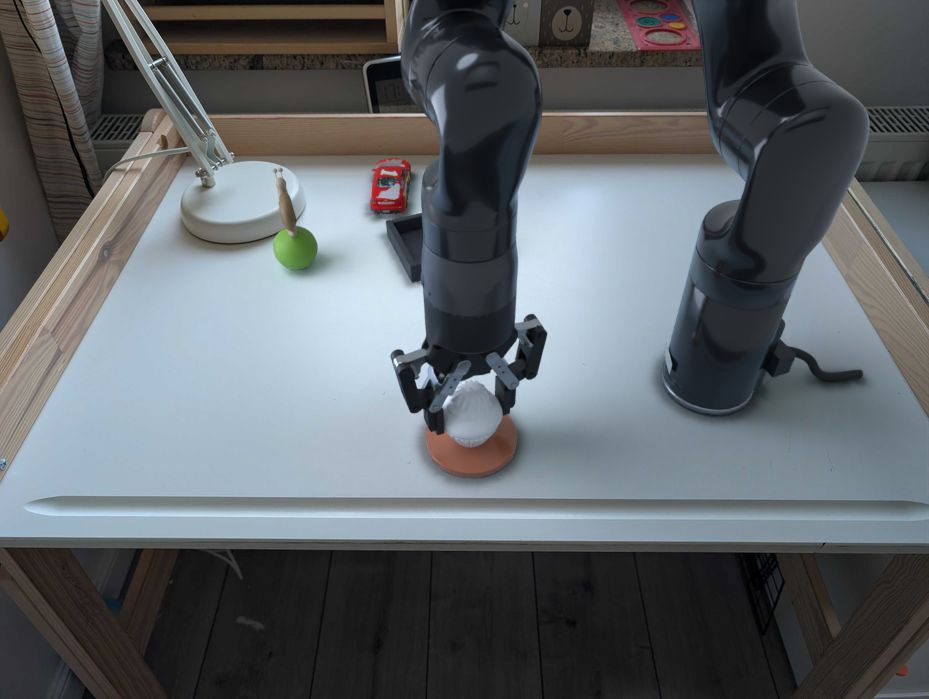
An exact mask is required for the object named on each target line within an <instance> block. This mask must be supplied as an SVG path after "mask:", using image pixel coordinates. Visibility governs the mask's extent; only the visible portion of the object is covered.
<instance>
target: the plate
mask: <svg viewBox="0 0 929 699" xmlns="http://www.w3.org/2000/svg"><path fill="white" fill-rule="evenodd" d="M517 445H518V431H517V429H516V425H515V424H514V422H513V420H512V419H511V418H510V416H509V414H507V415H504V416H502V420H501V422H500V424H499V425H498V428H497V429H496V430H495V432H494V433H493V434H492V435H491V436H490V437H489V438H488V439H487V440H486V441H485V442H484V443H483V444H481V445H479V446H478V447H472V448H470V447H469V448H467V447H465V446H462V445H459V444H458V443H457V442H456V441H455V440H453V439H452V438H451V437H450V436H449V435H448V434H447V432H446V431H445V430H444V434H441V435H438V436H437V435H436V433H435V431H433V432H431V431H430V430H429V429H428V427H427V428H426V432H425V447H426V451H427V454H428V455H429V458H430V459H431V461H432V462H433V463H434V464H435V465H436V466H437V467H438V468H440V469H441V470H442V471H444V472H445V473H447V474H449V475H453V476H456V477H460V478H466V479H467V478H469V479H476V478H484V477H487V476H490V475H493V474H495V473H497V472H498V471H500V470H502V469H503V468H505V467H506V466H507V465H508V464H509V463H510V461H511V460H512V459H513V457H514V455H515V454H516V450H517Z"/></svg>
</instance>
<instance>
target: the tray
mask: <svg viewBox="0 0 929 699" xmlns="http://www.w3.org/2000/svg"><path fill="white" fill-rule="evenodd" d="M385 229H386V237H387V239H388V240H389V242H390V244H391V246H392V249H393V250H394V252H395V254H396V255H397V257H398V259H399V262H400V263H401V266H402V267H403V269H404V271H405V272H406V275H407V276H408V278H409V280H410V282H411V283H417V282H421V272H422V264H421V260H422V248H423V224H422V212H418V213H414V214H410V215H409V214H408V215H405V216H399V217H396V218H392V219H387V220H385Z"/></svg>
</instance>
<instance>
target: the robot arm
mask: <svg viewBox="0 0 929 699" xmlns="http://www.w3.org/2000/svg"><path fill="white" fill-rule="evenodd" d="M515 1H516V0H412V2H411V5H410V7H409V10H408V13H407V17H406V19H405V24H404V28H403V32H402V37H401V46H400V72H401V79H402V83H403V85H404V87H405V90H406V93H407V94H408V96H409V97H410V98H411V100H412V102H414V103H415V105H416V106H417V107H418V109H419V110H421V112H422V113H423V114H424V115H425V116H426V117H427V118H428V120H429V121H430V122H431V124H433V125H434V126H435V129H436V132H437V138H438V144H439V155H437V156H436V157H435V158H434V159H432V160H431V161H430V162H429V164H428V165H427V166H426V168H425V170H424V172H423V174H422V178H421V180H422V181H421V186H420V209H421V213H422V224H423V248H422V260H421V264H422V272H421V280H420V283H421V286H422V295H423V296H422V297H423V307H424V308H423V309H424V310H423V311H424V326H425V337H424V340H423V342H422V344H421V346H420V348H419V349H416V350H413V351H411V352H408V353H405V352H404V350H403V349H402V348H401V349H400V348H397V349H394V350H393V351H392V352H391V353H390V360H391V363H392V366H393V370H394V373H395V376H396V379H397V383H398V386H399V389H400V392H401V394H402V398H403V399H404V401H405V404H406V406H407V408H408V411H409V412H410V414H413V415H414V414H418V413H420V412H421V411H422V410H423V419H424V420H423V421H424V422H425V424H426V427H427V428H428V429H429V430H430V431H431V432H433V431H435V433H436V435H437V436H438V435H441V434H444V410H443V408H442V406H443V404H444V402H445V400H446V399H447V397H448V396H452V395H453V393H454V392H455V390H456V388H457V386H458V384H459V383H461V382H463V381H466V380H467V381H468V380H470V378H473V377H477V376H478V377H479V376H484V375H488V374H491V373H492V372H491V371H493V372H494V373H495V376H494V395H495V396H496V397H497V398H498V400H499V402H500V404H501V407H502V412H503V415H502V416H504V415H510V414H511V409H513V408H514V407H515V405H516V402H517V400H516V399H517V397H516V396H517V388H518V387H519V386H520V382H521V381H523V380H525V379H526V380H527V381H531V380H533V379H535V378H536V377H537V376H538V373H539V369H540V365H541V361H542V359H543V358H542V357H543V353H544V350H545V346H546V343H547V342H546V341H547V338H548V332H547V330H546V329H545V327H544V325H543V324H542V322H541V321H540V319H539V318H538V317H537V316H536V314H534V313H528V314H527V315H526V316H525V317H524V318H523V321H520V322H516V314H517V313H516V312H517V292H518V275H519V251H518V244H517V232H518V231H517V230H518V213H519V212H518V210H519V190H520V187H521V186H522V183H523V180H524V178H525V175H526V172H527V170H528V167H529V164H530V160H531V157H532V155H533V151H534V148H535V144H536V142H537V140H538V135H539V132H540V129H541V124H542V118H543V109H544V96H543V93H544V92H543V85H542V79H541V75H540V72H539V69H538V67H537V64H536V61H535V60H534V58H533V57H532V55H531V54H530V53H529V52H528V50H527V49H526V48H524V46H522V44H520V43H519V42H518V41H516V40H515V39H514V38H512V37H511V36H510V35H509V34H507V33H506V32H505V28H506V23H507V20H508V17H509V15H510V13H511V10H512V9H513V6H514V4H515ZM689 1H690V4H691V7H692V11H693V14H694V18H695V23H696V26H697V32H698V38H699V45H700V54H701V64H702V73H703V74H702V75H703V84H704V85H703V86H704V96H705V109H706V117H707V118H706V119H707V125H708V130H709V135H710V138H711V141H712V143H713V145H714V148H715V149H716V151H717V152H718V154H719V156H720V157H721V158H722V159H723V161H724V162H725V163H726V164H727V165H728V166H729V167H730V168H731V169H732V170H733V171H734V172H735V173H736V174H737V175H738V176H739V177H740V178H741V179H742V180H743V181H744V182H745V184H744V186H743V191H742V192H741V197H740V199H733V200H727V201H724V202H721V203H718V204H716V205H715V206H713V207H712V208H711V209H709V210H708V211H707V212H706V214H705V215H704V217H703V219H702V221H701V222H700V223H701V224H700V227H699V230H698V234H697V237H696V242H695V245H694V249H693V253H692V256H691V260H690V264H689V269H688V273H687V277H686V280H685V284H684V288H683V291H682V295H681V298H680V303H679V307H678V311H677V314H676V318H675V321H674V325H673V330H672V333H671V337H670V341H669V345H668V341H666V342H665V344H664V345H665V346H664V349H663V354H664V359H665V360H664V362H663V363H662V367H661V373H660V378H661V383H662V386H663V388H664V390H665V391H666V393H667V394H668V396H670V397H671V398H672V399H673V400H674V401H675V402H676V403H678V404H679V405H681V406H683V407H684V408H686V409H688V410H690V411H693V412H696V413H699V414H703V415H710V416H723V415H729V414H733V413H737V412H738V411H740V410H742V409H743V408H745V407H746V406H747V404H749V402H750V401H751V398H752V397H753V394H754V393H755V392H758V391H760V389H761V387H762V384H763V383H764V379H765V377H766V374H768V375H769V376H770V377H771V378H772V379H773V378H776V377H779V376H782V375H786V374H789V373H790V371H791V369H792V366H793V364H794V362H795V359H799V360H801V361H803V362H804V363H805V364H806V365H807V367H808V369H809V371H810V373H811V374H812V375H813V376H814V377H815V378H817V379H819V380H821V381H825V382H842V381H848V380H857V379H862V378H863V377H864V372H863V370H862V369H851V370H844V371H843V370H842V371H837V372H836V371H835V372H829V371H825V370H822V369H821V367H820V365H819V363H818V361H817V360H816V358H815V357H814V356H813V355H812V354H810V353H809V352H807V351H805V350H803V349H801V348H797V347H795V346H790V345H787V344H786V343H785V341H783V340H782V339H781V338H782V335H783V333H784V330H785V328H786V321H785V320H784V318H783V316H784V315H785V311H786V309H787V307H788V304H789V301H790V299H791V296H792V293H793V291H794V289H795V286H796V284H797V281H798V279H799V276H800V274H801V271H802V267H803V266H804V264H805V261H806V259H807V257H808V256H809V255H810V253H812V251H813V250H814V249H815V248H816V247H817V246H818V244H820V242H821V241H822V240H823V238H824V237H825V236H826V234H827V232H828V230H829V229H830V228H831V225H832V223H833V220H834V219H835V216H836V214H837V213H838V210H839V208H840V206H841V204H842V202H843V200H844V198H845V196H846V194H847V192H848V190H849V188H850V187H851V184H852V182H853V180H854V178H855V175H856V173H857V171H858V169H859V167H860V165H861V162H862V160H863V157H864V155H865V152H866V150H867V145H868V143H869V142H868V141H869V136H870V117H869V113H868V111H867V109H866V108H865V106H864V105H863V103H862V102H861V101H860V100H859V99H857V98H856V97H855V96H854V95H853V94H851V93H850V92H848V91H847V90H846V89H844V88H843V87H842V86H840V85H839V84H837V83H836V82H835V81H833V80H832V79H831V78H829V77H827V75H825V74H823V73H822V72H820V70H818V69H817V68H815V66H814V64H812V62H811V60H810V59H809V57H808V55H807V52H806V48H805V45H804V41H803V36H802V31H801V25H800V19H799V18H800V17H799V10H798V4H797V0H689ZM517 340H518V345H517V349H516V353H515V358H514V361H512V362H511V363H509V362H508V361H507V360H506V359H505V356H506V355H507V354H508V353H509V351H510V350H511V348H512V347H513V346H514V345H515V343H516V342H517ZM425 364H428V367H427V376H426V379H425V380H424V382H423V384H422V386H421V388H418V385H417V382H416V380H419V379H420V373H421V372H422V367H423V366H424V365H425Z"/></svg>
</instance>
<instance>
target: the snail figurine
mask: <svg viewBox="0 0 929 699" xmlns="http://www.w3.org/2000/svg"><path fill="white" fill-rule="evenodd" d="M283 171H284V169H283V167H278V168H273V169H272V173H274V175H275V178H276V180H275V181H274V183H275V187H276V189H277V196H278V210H279V214H280V218H281V222H282V224H283V226H284V228H283V229H281V230H280V231H279V232H278V233H277V234H276V236H275V237H274V240H273V245H272V250H273V254H274V256H275V259H276V260H277V262H278V263H279V264H280V265H282V266H283V267H285V268H287V269H289V270H294V271H295V270H296V271H297V270H303V269H305V268H307V267H309V266H310V265H312V264H313V262H314V261H315V260H316V257H317V255H318V251H319V246H318V245H319V244H318V242H317V239H316V237H315V235H314V234H313V233H312V232H311V231H310V230H309V229H308V228H306V227H304V226H300V225H297V222H298V219H297V216H296V213H295V212H296V211H295V209H294V206H293V202H292V198H291V196H290V194H289V192H288V189H287V182H286V180H285V179H284V178H283V174H282V172H283ZM278 172H279V173H280V175H281V176H279V177H278V176H277V173H278Z"/></svg>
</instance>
